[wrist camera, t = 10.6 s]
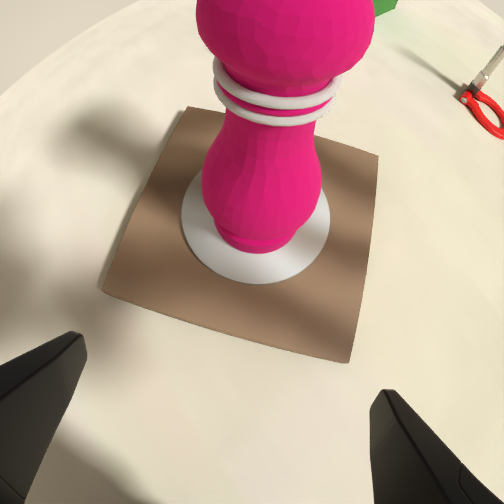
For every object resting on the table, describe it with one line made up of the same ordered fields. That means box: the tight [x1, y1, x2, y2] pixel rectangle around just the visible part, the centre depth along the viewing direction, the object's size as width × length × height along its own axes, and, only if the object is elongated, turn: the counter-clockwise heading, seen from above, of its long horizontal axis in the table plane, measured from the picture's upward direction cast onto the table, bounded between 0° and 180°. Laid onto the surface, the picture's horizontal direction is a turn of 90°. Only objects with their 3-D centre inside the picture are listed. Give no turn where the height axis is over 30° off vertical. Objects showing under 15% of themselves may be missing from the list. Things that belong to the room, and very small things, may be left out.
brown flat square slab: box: [102, 106, 378, 363], centre depth 24 cm, size 18×18×2 cm
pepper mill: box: [196, 0, 375, 254], centre depth 14 cm, size 7×7×20 cm
